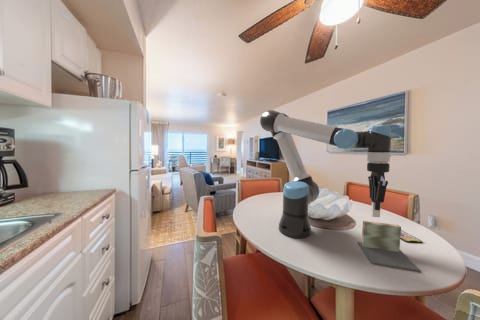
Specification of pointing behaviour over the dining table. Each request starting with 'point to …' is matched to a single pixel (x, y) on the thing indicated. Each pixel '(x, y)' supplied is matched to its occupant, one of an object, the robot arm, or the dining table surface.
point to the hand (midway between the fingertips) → (375, 216)
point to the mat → (389, 258)
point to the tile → (381, 236)
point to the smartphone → (409, 238)
